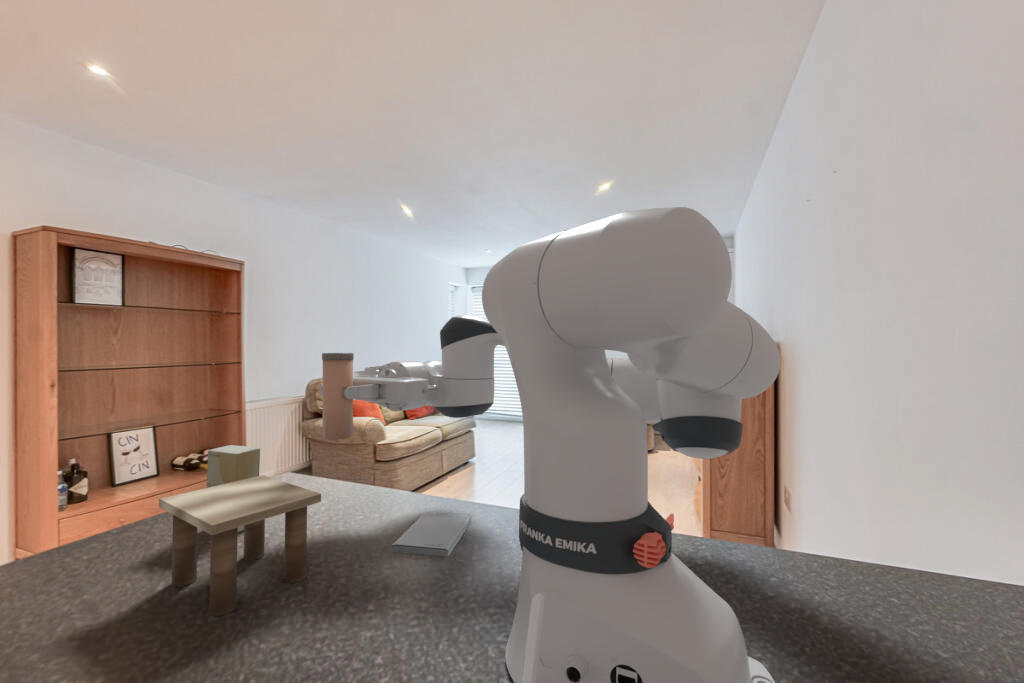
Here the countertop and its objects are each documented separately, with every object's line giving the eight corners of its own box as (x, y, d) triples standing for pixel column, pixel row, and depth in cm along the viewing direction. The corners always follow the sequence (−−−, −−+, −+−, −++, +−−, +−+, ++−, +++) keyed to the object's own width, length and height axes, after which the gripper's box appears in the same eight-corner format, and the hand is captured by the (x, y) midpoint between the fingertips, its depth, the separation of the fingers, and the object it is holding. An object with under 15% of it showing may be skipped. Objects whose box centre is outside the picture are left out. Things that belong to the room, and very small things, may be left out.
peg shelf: (320, 575, 55) (321, 493, 55) (210, 625, 45) (212, 525, 45) (261, 546, 62) (262, 475, 63) (157, 583, 53) (159, 498, 53)
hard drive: (448, 548, 60) (471, 514, 72) (391, 544, 61) (423, 511, 74) (448, 561, 60) (471, 524, 72) (390, 556, 61) (423, 521, 74)
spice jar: (359, 435, 70) (359, 352, 70) (334, 441, 66) (334, 353, 66) (341, 432, 72) (341, 352, 73) (315, 437, 69) (315, 353, 69)
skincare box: (203, 529, 68) (204, 449, 69) (228, 519, 73) (230, 444, 73) (235, 535, 66) (237, 452, 67) (260, 524, 71) (261, 446, 71)
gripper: (444, 407, 74) (377, 418, 63) (365, 399, 86) (296, 407, 74) (444, 369, 74) (377, 373, 63) (365, 367, 86) (296, 369, 74)
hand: (333, 391), depth 69 cm, fingers closed on spice jar, 4 cm apart
